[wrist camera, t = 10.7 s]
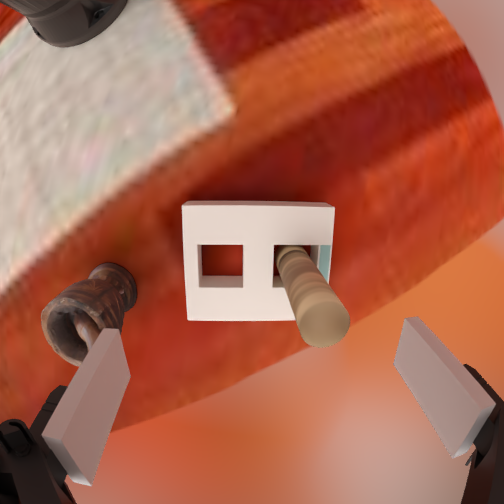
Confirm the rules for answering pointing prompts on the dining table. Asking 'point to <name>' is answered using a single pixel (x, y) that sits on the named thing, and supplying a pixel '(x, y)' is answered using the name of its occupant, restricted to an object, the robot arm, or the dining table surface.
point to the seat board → (250, 255)
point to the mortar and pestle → (88, 311)
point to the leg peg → (311, 298)
